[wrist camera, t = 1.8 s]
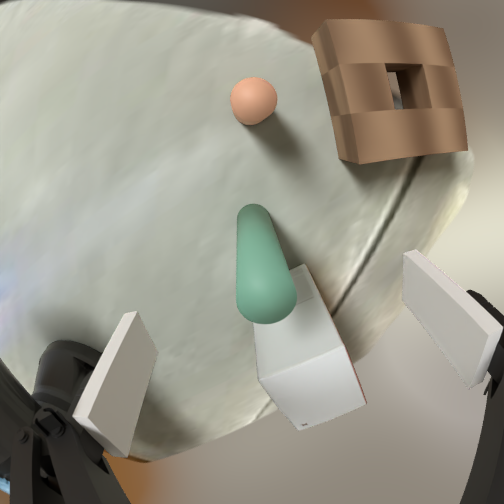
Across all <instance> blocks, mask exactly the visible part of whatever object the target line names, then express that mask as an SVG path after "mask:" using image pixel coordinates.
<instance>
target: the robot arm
mask: <svg viewBox="0 0 504 504" xmlns="http://www.w3.org/2000/svg"><path fill="white" fill-rule="evenodd" d="M402 301H403V302H404V303H405V305H406V306H407V307H408V308H409V309H410V311H411V312H412V313H413V314H414V316H415V317H416V318H417V320H418V321H419V322H420V323H421V325H422V326H423V327H424V328H425V330H426V331H427V332H428V334H429V335H430V336H431V338H432V339H433V340H434V342H435V343H436V344H437V346H438V347H439V348H440V349H441V351H442V352H443V354H444V355H445V356H446V358H447V359H448V361H449V362H450V363H451V365H452V366H453V368H454V369H455V370H456V372H457V373H458V375H459V376H460V378H461V379H462V380H463V382H464V383H465V385H466V386H467V388H468V389H470V388H472V387H474V386H475V385H477V384H479V383H481V382H483V380H484V377H485V375H486V372H487V371H488V372H489V373H490V375H491V379H490V381H489V383H488V385H487V387H486V389H485V391H484V395H486V393H487V391H488V396H487V403H486V410H485V415H484V421H483V426H482V431H481V435H480V440H479V444H478V448H477V452H476V456H475V459H474V463H473V466H472V469H471V473H470V476H469V479H468V482H467V485H466V488H465V491H464V494H463V496H462V499H461V502H460V504H504V316H503V315H502V314H501V313H500V312H499V311H498V310H497V309H496V308H495V307H493V305H491V304H490V302H488V301H487V300H486V299H485V298H484V297H483V296H482V295H481V294H479V293H477V292H475V291H472V290H468V291H465V290H464V289H463V288H461V287H460V286H459V285H458V284H457V283H456V282H455V281H453V280H452V279H451V278H450V277H449V276H447V275H446V274H445V273H444V272H443V271H442V270H441V269H439V268H438V267H437V266H436V265H435V264H433V263H432V262H431V261H430V260H429V259H427V258H426V257H425V256H424V255H422V254H421V253H420V252H419V251H417V250H412V251H408V252H405V253H403V291H402ZM157 355H158V351H157V349H156V347H155V345H154V343H153V341H152V339H151V338H150V336H149V334H148V332H147V330H146V328H145V326H144V324H143V322H142V320H141V318H140V315H139V313H138V311H135V312H129V313H125V314H124V315H123V317H122V319H121V321H120V322H119V324H118V326H117V328H116V330H115V331H114V333H113V335H112V337H111V339H110V341H109V343H108V344H107V346H106V348H105V350H104V352H103V354H101V353H99V352H97V351H96V350H94V349H92V348H90V347H88V346H85V345H83V344H80V343H77V342H73V341H66V340H61V341H56V342H53V343H51V344H50V345H49V346H48V347H47V348H46V350H45V351H44V353H43V354H42V356H41V358H40V361H39V367H38V371H37V376H36V381H35V386H34V391H33V394H32V395H30V394H29V393H28V392H27V391H26V389H25V388H24V387H23V386H22V385H21V384H20V382H19V381H18V380H17V379H16V378H15V376H14V375H13V374H12V373H11V371H10V370H9V369H8V368H7V366H6V365H5V364H4V362H3V361H2V360H1V358H0V489H1V490H2V491H4V492H6V493H7V494H9V495H10V504H131V503H130V501H129V500H128V498H127V496H126V494H125V493H124V491H123V489H122V488H121V486H120V484H119V482H118V480H117V479H116V477H115V475H114V473H113V471H112V469H111V467H110V465H109V463H108V461H107V460H106V458H105V457H104V456H103V455H102V454H103V451H104V449H105V450H106V451H107V452H108V453H109V454H110V455H112V456H116V457H125V458H128V454H129V450H130V446H131V443H132V439H133V435H134V432H135V428H136V424H137V421H138V417H139V414H140V410H141V407H142V404H143V400H144V397H145V394H146V390H147V387H148V384H149V381H150V377H151V374H152V371H153V368H154V365H155V362H156V358H157Z"/></svg>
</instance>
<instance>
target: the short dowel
mask: <svg viewBox="0 0 504 504" xmlns="http://www.w3.org/2000/svg"><path fill="white" fill-rule="evenodd" d="M230 101H231V106H232V110H233V113H234V116H235V117H236V119H237V120H238V121H239V122H241V123H243V124H245V125H255V124H258V123H260V122H261V121H262V120H264V119H265V118H267V117H268V116H269V115H270V114H271V113H272V112H273V111H274V109H275V107H276V105H277V94H276V91H275V89H274V87H273V86H272V85H271V84H270V83H269V82H267V81H266V80H264V79H261V78H256V77H251V78H246V79H244V80H242V81H240V82H239V83H237V84H236V85H235V87H234V88H233V90H232V92H231V97H230Z"/></svg>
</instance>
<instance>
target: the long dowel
mask: <svg viewBox="0 0 504 504" xmlns="http://www.w3.org/2000/svg"><path fill="white" fill-rule="evenodd" d="M296 302H297V292H296V289H295V286H294V283H293V280H292V277H291V274H290V272H289V269H288V266H287V263H286V260H285V258H284V255H283V252H282V249H281V246H280V244H279V241H278V238H277V235H276V233H275V230H274V227H273V225H272V222H271V219H270V216H269V214H268V212H267V210H266V209H265V208H264V207H263V206H261V205H258V204H249V205H246V206H245V207H243V208H242V209H241V210H240V211H239V213H238V217H237V270H236V303H237V307H238V309H239V311H240V313H241V314H242V315H243V316H244V317H245V318H246V319H248V320H249V321H251V322H254V323H257V324H273V323H276V322H279V321H281V320H283V319H284V318H286V317H287V316H288V315H289V314H290V313H291V312H292V311H293V309H294V307H295V305H296Z"/></svg>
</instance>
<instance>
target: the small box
mask: <svg viewBox="0 0 504 504" xmlns="http://www.w3.org/2000/svg"><path fill="white" fill-rule="evenodd" d="M289 272H290V274H291V277H292V280H293V283H294V286H295V289H296V292H297V302H296V305H295V307H294V309H293V311H292V312H291V313H290V314H289V315H288V316H287V317H286V318H284V319H283V320H281V321H279V322H276V323H273V324H257V323H254V322H253V328H254V339H255V351H256V364H257V374H258V381H259V383H260V384H261V386H262V387H263V388H264V390H265V391H266V392H267V394H268V395H269V396H270V398H271V399H272V400H273V402H274V403H275V404H276V406H277V407H278V409H279V410H280V411H281V413H282V414H283V415H284V416H285V417H286V418H287V419H288V420H289V421H290V422H291V423H292V424H293V425H294V427H295V428H296V429H297V430H298V431H299V430H303V429H306V428H310V427H313V426H315V425H318V424H321V423H324V422H326V421H329V420H332V419H334V418H337V417H339V416H341V415H344V414H346V413H348V412H351V411H353V410H355V409H357V408H359V407H362V406H364V405H366V404H367V402H366V399H365V396H364V393H363V390H362V387H361V384H360V382H359V379H358V377H357V374H356V372H355V369H354V366H353V364H352V361H351V359H350V356H349V354H348V351H347V349H346V347H345V344H344V343H343V341H342V339H341V336H340V334H339V332H338V330H337V328H336V326H335V324H334V322H333V319H332V317H331V315H330V313H329V311H328V309H327V307H326V305H325V303H324V301H323V299H322V296H321V294H320V292H319V291H318V288H317V286H316V284H315V282H314V280H313V278H312V276H311V274H310V272H309V270H308V268H307V266H306V264H302V265H300V266H297V267H295V268H293V269H291V270H289Z"/></svg>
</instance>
